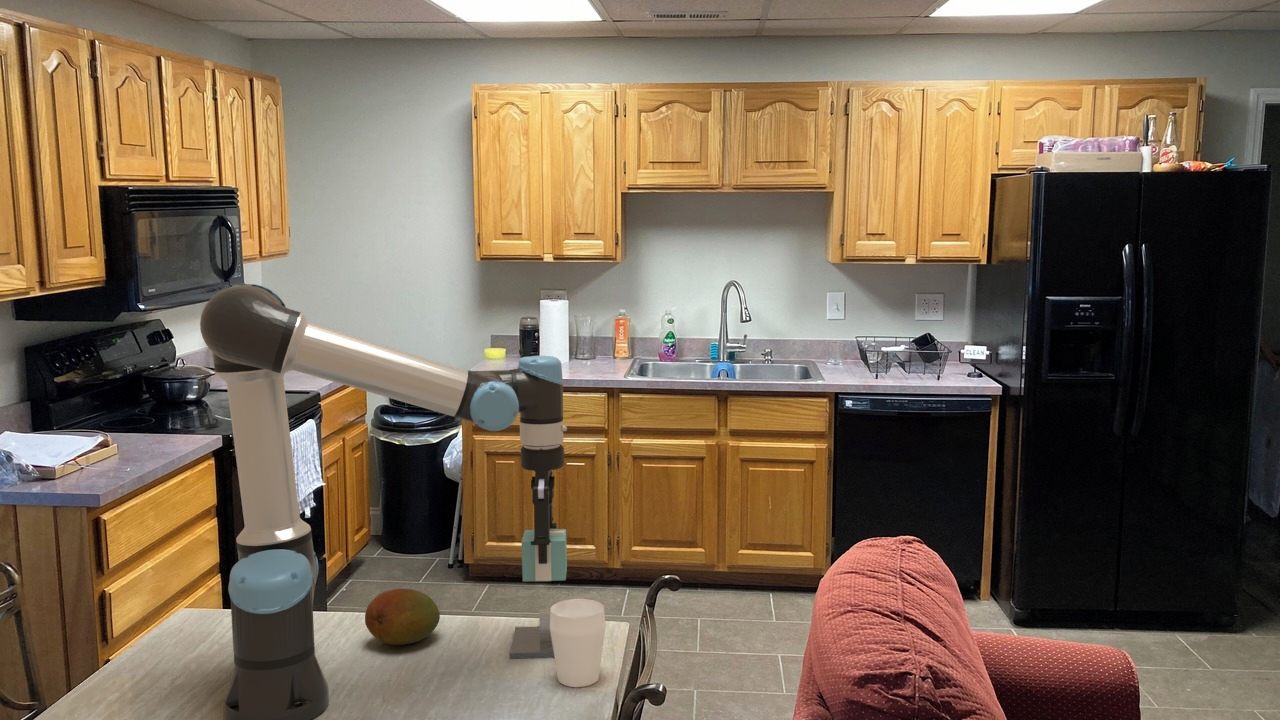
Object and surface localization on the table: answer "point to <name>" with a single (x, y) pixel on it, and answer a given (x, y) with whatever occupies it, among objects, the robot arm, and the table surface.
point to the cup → (577, 640)
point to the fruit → (401, 616)
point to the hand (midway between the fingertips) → (544, 572)
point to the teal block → (556, 555)
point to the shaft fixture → (533, 639)
